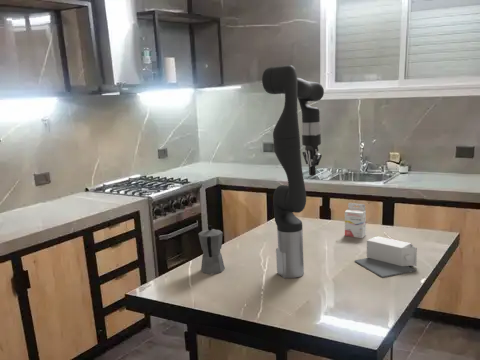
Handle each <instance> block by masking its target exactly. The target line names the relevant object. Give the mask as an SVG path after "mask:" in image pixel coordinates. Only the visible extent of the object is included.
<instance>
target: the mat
mask: <svg viewBox="0 0 480 360" xmlns="http://www.w3.org/2000/svg"><path fill="white" fill-rule="evenodd" d="M354 262H355V263H356V264H358V265H359V266H361V267H363V268H365V269H367V270H369V271H370V272H372V273H374V274H375V275H376V276H379V277H380V278H388V277H394V276H398V275H403V274H408V273H413V272H416V268H413V267H411V266H399V265H395V264H391V263H387V262H383V261H379V260H375V259H371V258H367V257H366V258H360V259H355V260H354Z"/></svg>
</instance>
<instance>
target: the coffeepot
mask: <svg viewBox="0 0 480 360" xmlns="http://www.w3.org/2000/svg"><path fill="white" fill-rule="evenodd" d="M207 228H208V229H206V230H202V231H200V232H199V233H198V238H199V243H200V247H201V250H202V253H203V254H202V258H201V268H200V271H201V272H202V273H203V274H206V275H215V274H219V273H222V272H224V270H225V268H226V267H225V264H224V258H223V256H222V255H223V254H222V253H221V250H222V246H223V245H222V244H223V231H221V229H215V228H213V225H208V226H207Z"/></svg>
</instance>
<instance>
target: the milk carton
mask: <svg viewBox="0 0 480 360" xmlns="http://www.w3.org/2000/svg"><path fill="white" fill-rule="evenodd" d="M417 249H418V248H417V247H414V245H413V244H412V242H407V241H402V240H399V239H398V240H396V239H392V238H388V237H384V236H378V235H377V236H374V237H372V238H369V239H367V240H366V258H371V259H375V260H379V261H383V262H387V263H391V264H395V265H399V266H409V267H411V266H414V267H417V262H418V261H417V258H418V256H417V255H418V253H417V252H418V250H417Z"/></svg>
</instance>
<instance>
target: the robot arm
mask: <svg viewBox="0 0 480 360" xmlns="http://www.w3.org/2000/svg"><path fill="white" fill-rule="evenodd" d="M261 83H262V84H261V85H262V87H263V89H264V91H265V92H266V93H267V94H268V95H269V94H270V95H281V94H283V95H284V105H283V110H282V112H281V115H280V116H279V119H278V120H277V121H276V124H275V125H274V128H273V133H272V138H273V139H272V141H273V150H274V153H275V156H276V157H277V160H278V162H279V163H280V165H281V166H282V168H283V170H284V172H285V174H286V178H287V183H288V185H285V184H282V185H278V186H277V187H276V188H275V190H274V192H273V196H272V201H273V202H272V206H273V214H274V215H273V217H274V222H275V224H276V231H277V232H276V233H277V234H276V235H277V248H275V253H276V257H275V258H276V273H277V274H278V275H279V276H281V278H282V279H294V278H300V277H302V276H304V274H305V264H304V263H305V261H304V238H303V237H304V236H303V235H304V234H303V231H304V230H303V222H302V220H301V219H300V218H299V217H297V216H296V215H295V214H299V213H301V212H303V211H304V209H305V207H306V205H307V191H306V186H305V185H306V184H305V179H304V174H303V166H302V157H301V155H302V156H303V158H304V162H305V164H306V165H307V167H308V174H309V176H311V177H313V176H316V167H317V166H319V164H320V161H321V159H322V154H321V153H319V147H318V146H320V145H321V143H322V139H321V138H322V136H321V134H322V132H321V129H322V128H321V123H320V122H321V121H320V120H321V119H320V117H321V115H320V109H319V107H316V106H311V105H310V104H309V102H318V101H320V100H321V99H323V97H324V94H325V90H324V87H323V85H322V84H321V83H319V82H317V81H316V82H315V81H307V80H306V79H303V78H301V77H298V74H297V70H296V68H295V66H293V65H289V64H288V65H277V66H271V67H267V68H266V69H264V71H263V74H262V76H261ZM298 103H299V106H300V109H301V120H302V121H301V123H302V124H301V134H300V128H299V114H298ZM300 135H301V138H300ZM301 144H302V146H304V150H305V151H302V154H301ZM294 213H295V214H294Z"/></svg>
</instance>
